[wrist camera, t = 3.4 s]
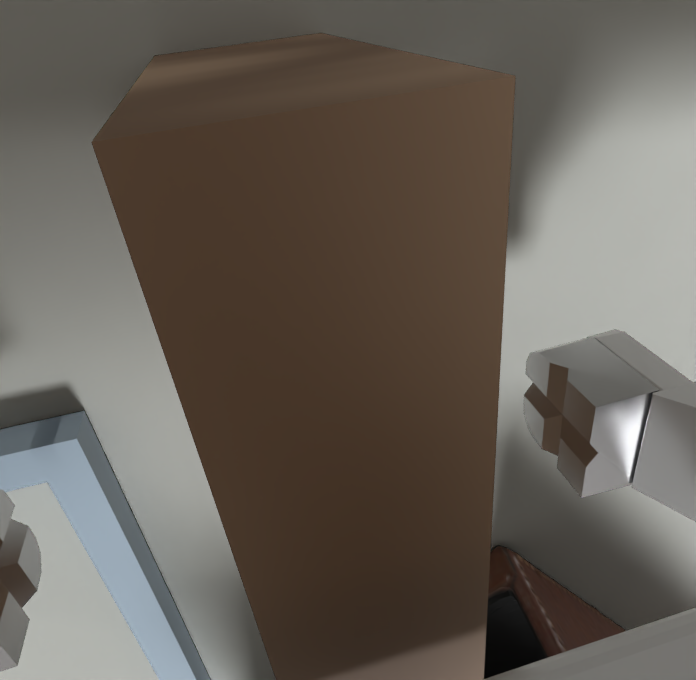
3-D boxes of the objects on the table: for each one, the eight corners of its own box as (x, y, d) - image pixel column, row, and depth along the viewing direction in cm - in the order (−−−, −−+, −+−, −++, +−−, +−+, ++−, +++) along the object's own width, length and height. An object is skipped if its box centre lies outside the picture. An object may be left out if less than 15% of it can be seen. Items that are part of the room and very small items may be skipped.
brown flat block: (319, 32, 8) (513, 75, 3) (373, 495, 14) (478, 779, 9) (155, 54, 8) (92, 143, 3) (276, 520, 13) (328, 832, 8)
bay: (84, 410, 10) (76, 438, 10) (239, 741, 18) (241, 769, 17) (-372, 512, 9) (-415, 550, 9) (-5, 818, 17) (-13, 852, 16)
